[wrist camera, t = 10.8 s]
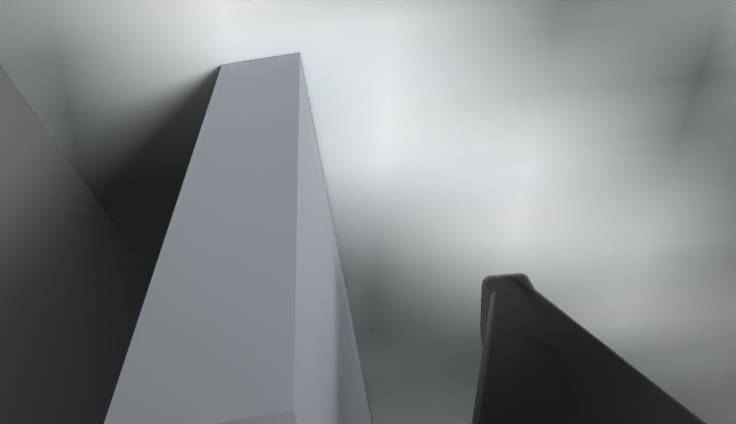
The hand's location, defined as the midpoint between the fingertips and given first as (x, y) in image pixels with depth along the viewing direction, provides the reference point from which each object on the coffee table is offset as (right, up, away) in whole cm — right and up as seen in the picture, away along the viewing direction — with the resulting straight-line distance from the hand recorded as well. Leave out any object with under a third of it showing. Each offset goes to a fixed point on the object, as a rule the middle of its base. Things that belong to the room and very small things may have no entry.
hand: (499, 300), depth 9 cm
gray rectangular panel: (-3, -2, +5) cm, 6 cm away
